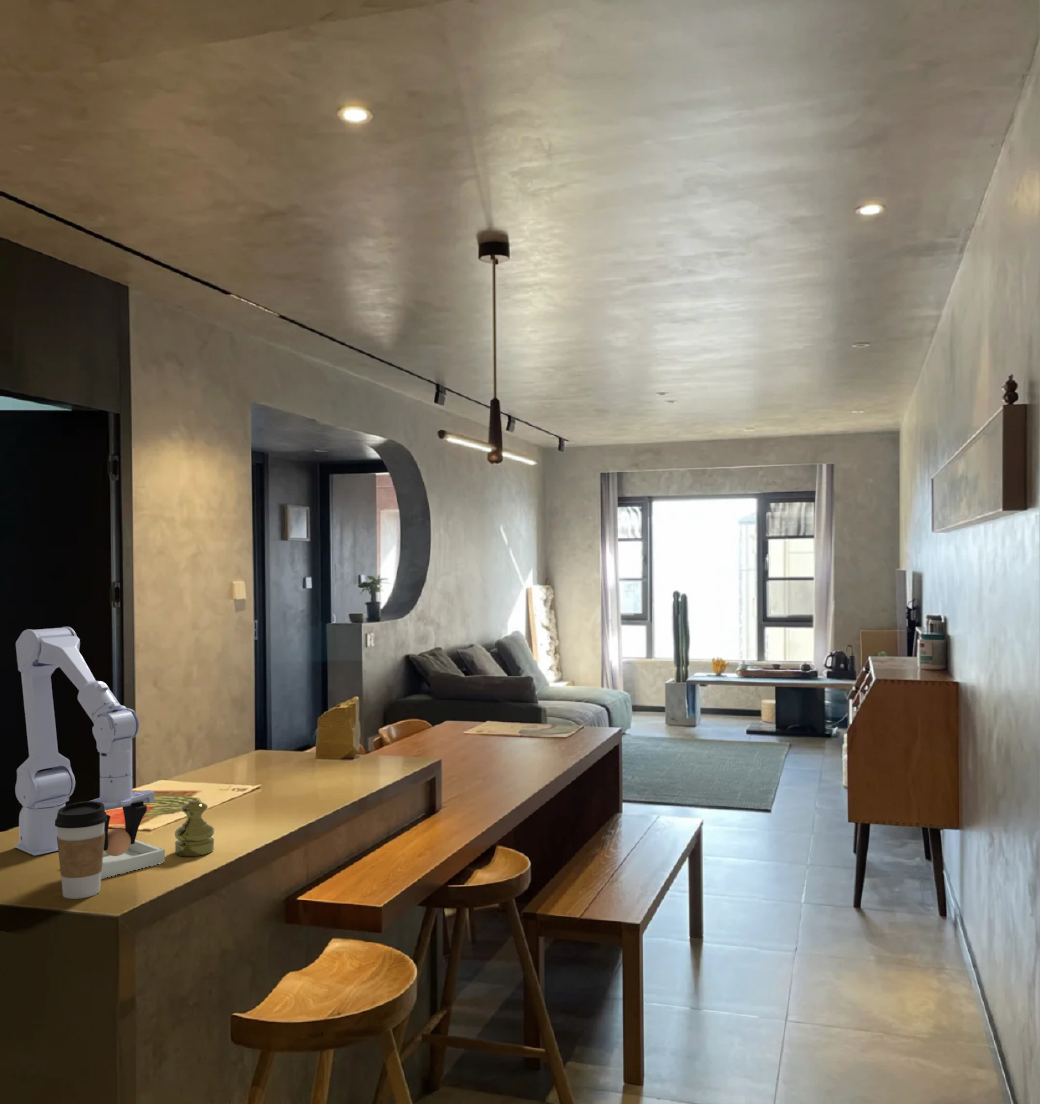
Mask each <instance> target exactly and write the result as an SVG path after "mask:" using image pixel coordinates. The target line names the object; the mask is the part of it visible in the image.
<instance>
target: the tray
mask: <svg viewBox="0 0 1040 1104" xmlns="http://www.w3.org/2000/svg"><path fill="white" fill-rule="evenodd" d="M165 853H166V851H165V849H163V848H160V847H158V846H155V845H153V844H149V843H147V842H145V841H144V842H143V841H141V840H138V839H135V843H134V844H130V847H129V849H128V850H127V851H126V852H125V853H124V854H122V855H119V856H111V855H109V854H107V853H106V852H105V851H103V861H102V871H101V880H103V879H104V880H105V879H108V878H112V877H115V875H116V876H118V875H117V874H120V875H124V874H127V873H126V872H128V873H130V872H129V871H132V872H134V871H133V870H136V871H139V870H138V869H140V870H142V869H141V868H143V869H146V868H145V867H147V868H149V867H148V866H151V867H154V865H155V866H158V865H157V864H159V863H162V862H165V861H166V860H165V858H166V857H165ZM165 863H166V862H165ZM159 865H160V864H159ZM111 876H112V877H111ZM107 877H108V878H107Z"/></svg>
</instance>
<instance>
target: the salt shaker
mask: <svg viewBox="0 0 1040 1104" xmlns="http://www.w3.org/2000/svg"><path fill="white" fill-rule="evenodd" d="M208 807H209V806H208V804H207V803H205V802H202V801H200V800H198V799H197V800H195V799H194V800H190V801H189V802H187V803H185V804H183V806H181V808H180V810H181V812H183V813H184V814H185V815H186V817H187V819H186V820H185V821H184V822H183V823H182V825H180V826H179V827H177V829H175V832H174V836H175V839H176V841H175V842H174V845H175V846H174V847H175V852H174V853H175V855H177V856H179V855H180V857H184V856H188V858H191V856H194V857H200V855H201V856H204V854H205V855H208V854H211V853H212V852H213V851H214V849H215V838H214V837H212V836H213V835H214V834H215V833H214V832H215V828H214V827H213V826H212V825H211V824H210V823H208V822H207V821H205V819H204V818H203V817H202V815H203V813H204V812H205V811H206V810H207V809H208ZM207 853H208V854H207ZM189 856H190V857H189Z"/></svg>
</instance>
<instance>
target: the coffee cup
mask: <svg viewBox="0 0 1040 1104" xmlns="http://www.w3.org/2000/svg"><path fill="white" fill-rule="evenodd" d="M105 812H106V810H105V808H104V804H103V803H101V802H96V801H91V800H89V801H88V800H87V801H78V802H72V803H69V804H67V805H66V804H65V806H64V807H62V808H61V809H59V810H58V813H57V819H56V820H55V826H56V827H57V830H58V836H57V844H58V860H59V861H58V862H59V871H60V877H61V879H60V880H61V889H62V896H63V898H65V899H69V900H73V899H74V900H76V899H77V900H78V899H79V900H80V899H86V898H90V897H93V896H96V895H98V894H99V893H100V892H99V891H101V881H102V879H101V871H102V861H103V851H104V840H105V831H104V826H105V822H106V821H107V815H108V814H107V813H106V814H107V815H106V814H105ZM97 893H98V894H97Z"/></svg>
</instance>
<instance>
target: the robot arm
mask: <svg viewBox="0 0 1040 1104" xmlns="http://www.w3.org/2000/svg"><path fill="white" fill-rule="evenodd" d="M80 640H81V639H80V638H79V637H78V636H77V633H76V632H75V630H74V629H73V628H72V627H71V626H62V627H54V628H43V629H41V628H40V629H29V628H27V629H25V630H23V631H22V632H21V633H20V635H19V637H18V638H17V640H16V642H15V650H16V663H17V670H18V671H19V672H20V675H21V686H22V695H23V707H24V714H25V715H24V717H25V724H26V725H25V726H26V727H25V728H26V736H27V747H28V749H27V750H28V757H27V759H25V761H24V762H22V764H20V765H19V767H18V768H17V769H16V783H15V786H14V787H15V788H14V790H15V791H14V792H15V796H16V799H17V800H18V802H19V804H21V806H22V807H21V809H20V811H19V816H18V833H19V834H18V843H16V844H14V849H15V848H16V849H18V850H20V851H22V852H25V853H28V854H29V855H31V856H40V855H44V854H48V853H53V852H57V851H58V844H57V836H58V830H57V827H56V826H55V820H56V819H57V813H58V810H59V809H61V808H62V807H64V806H66V802H69V801H70V796H72V794H73V793H74V790H75V787H76V779H75V775H74V773H73V770H72V767H71V761H70V759H69V758H68V757H65V756H64V755H62V754H61V753H59V749H58V739H57V728H56V717H55V709H54V707H55V706H54V698H53V689H52V678H51V677H52V674H54V672H55V670H56V669H57V668H59V669H61V671H62V672H63V674H65V675H66V677H67V678H68V679H69V681H70V682H72V684H73V685H74V686H75V687H76V688H77V690H78V694H77V701H78V702H79V704H80V705H81V707H82V708H83V710H84V711H85V713H86V715H87V716H88V717H89V718H90V720H91V721H92V723H93V726H92V729H91V730H92V735H93V738H94V739H95V741H96V749H97V752H98V753H99V797H98V798H95V799H92V800H90V801H96V802H101V803H103V804H104V808H105V814H106V815H107V821H106V822H105V826H104V831H105V840H104V851H105V850H107V849H108V832H109V825H110V820H111V815H109V814H107V812H106V811H110V810H114V809H119V808H122V812H123V816H124V830H125V831H126V832H127V833H128V834H129V836H130V838H131V844H134V843H135V840H136V838H137V834H138V830H139V828H140V825H141V822H142V821H143V818H144V817H145V814H146V812H147V811H148V808H147V807H148V806H147V805H146V804H144V803H154V802H155V791H153V790H148V789H147V790H143V791H134V792H133V739H134V738H135V737H136V736H137V735H138V734H139V730H140V722H139V718H138V716H137V714H136V711H135V710H134V709H132V708H128V707H126V706H125V705H121V704H120V702H119V701H118V699H117V697H116V696H115V695H114V693H113V692H112V691H111V690H110V687H109V686H108V685H107V683H105V682H104V681H101V680H100V681H99V680H96V678H95V677H94V674H93V673H92V672H91V669H90V667H89V666H88V664H87V663H86V660H85V658H84V657H83V655H82V653H80V646H81V641H80ZM47 769H48V770H47ZM41 770H42V771H41Z"/></svg>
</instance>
